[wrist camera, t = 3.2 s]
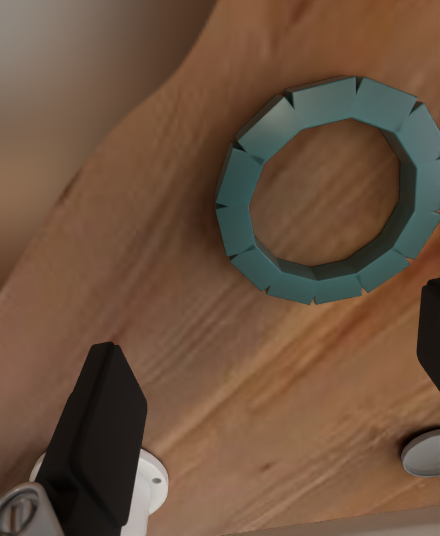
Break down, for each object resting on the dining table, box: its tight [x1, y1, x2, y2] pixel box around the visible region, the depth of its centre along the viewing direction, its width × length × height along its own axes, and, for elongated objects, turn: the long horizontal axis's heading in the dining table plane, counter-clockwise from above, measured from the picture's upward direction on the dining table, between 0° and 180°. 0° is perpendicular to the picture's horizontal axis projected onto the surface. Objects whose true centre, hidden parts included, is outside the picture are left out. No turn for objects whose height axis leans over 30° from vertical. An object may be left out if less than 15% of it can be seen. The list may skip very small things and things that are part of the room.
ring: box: [215, 75, 440, 305], centre depth 20 cm, size 13×13×2 cm
